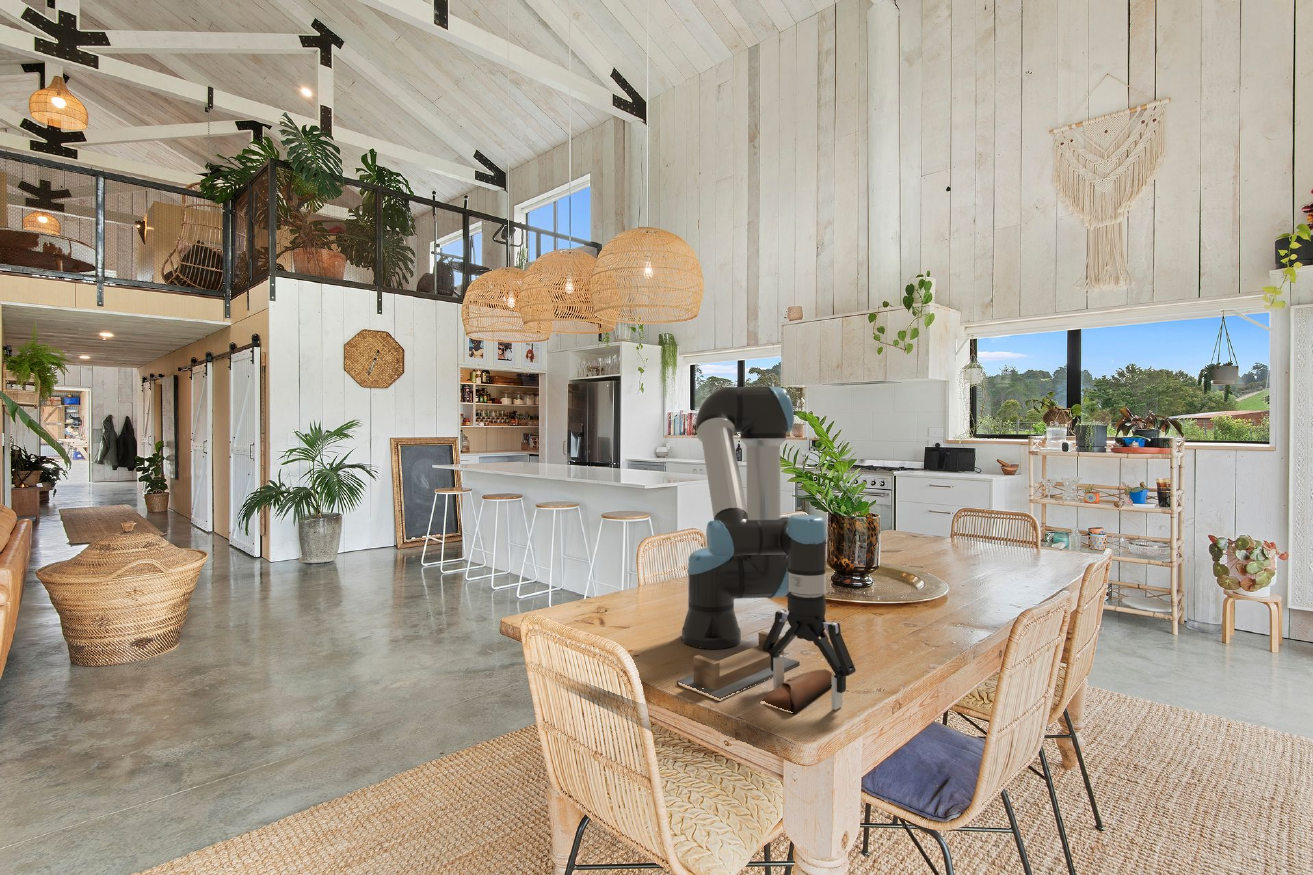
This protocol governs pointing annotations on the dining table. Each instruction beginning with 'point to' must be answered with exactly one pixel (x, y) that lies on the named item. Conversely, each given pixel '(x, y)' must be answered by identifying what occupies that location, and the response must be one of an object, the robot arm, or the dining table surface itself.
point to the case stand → (734, 670)
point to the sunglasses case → (799, 690)
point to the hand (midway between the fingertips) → (806, 697)
